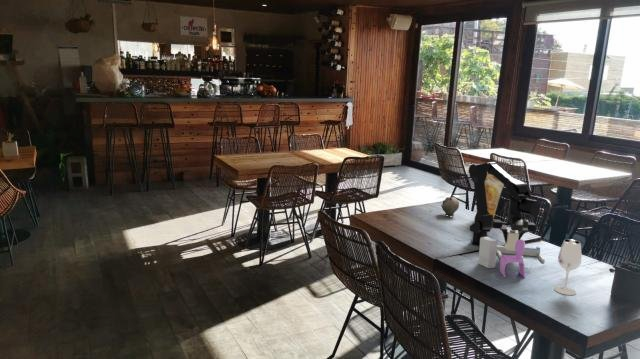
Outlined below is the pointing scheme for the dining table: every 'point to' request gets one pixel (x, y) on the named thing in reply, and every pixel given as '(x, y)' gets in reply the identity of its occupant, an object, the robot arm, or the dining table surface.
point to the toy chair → (514, 258)
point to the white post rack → (527, 251)
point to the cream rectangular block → (511, 240)
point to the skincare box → (487, 252)
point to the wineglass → (569, 262)
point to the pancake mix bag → (492, 192)
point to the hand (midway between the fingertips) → (511, 243)
